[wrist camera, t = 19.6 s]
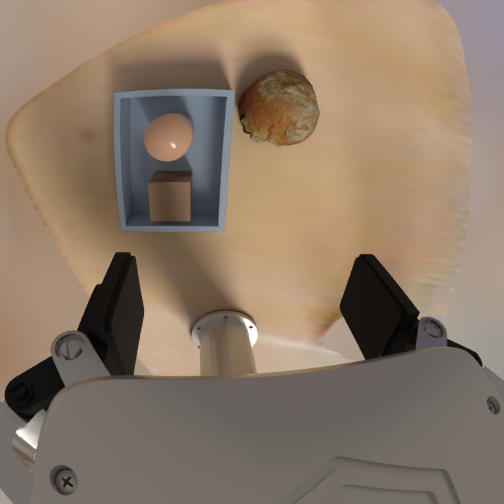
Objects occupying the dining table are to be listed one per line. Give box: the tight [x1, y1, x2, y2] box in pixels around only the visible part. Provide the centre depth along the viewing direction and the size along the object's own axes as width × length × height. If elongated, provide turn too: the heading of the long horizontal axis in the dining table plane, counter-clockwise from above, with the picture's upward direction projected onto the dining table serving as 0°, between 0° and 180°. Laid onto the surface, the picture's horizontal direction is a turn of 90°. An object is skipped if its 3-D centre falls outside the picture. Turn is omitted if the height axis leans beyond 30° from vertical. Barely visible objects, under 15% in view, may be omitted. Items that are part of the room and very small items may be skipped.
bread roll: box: [238, 70, 320, 147], centre depth 31 cm, size 10×10×8 cm
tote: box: [114, 89, 235, 232], centre depth 33 cm, size 18×14×5 cm
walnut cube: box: [148, 171, 193, 221], centre depth 34 cm, size 5×5×5 cm
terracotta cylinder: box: [144, 111, 195, 161], centre depth 29 cm, size 5×5×7 cm
